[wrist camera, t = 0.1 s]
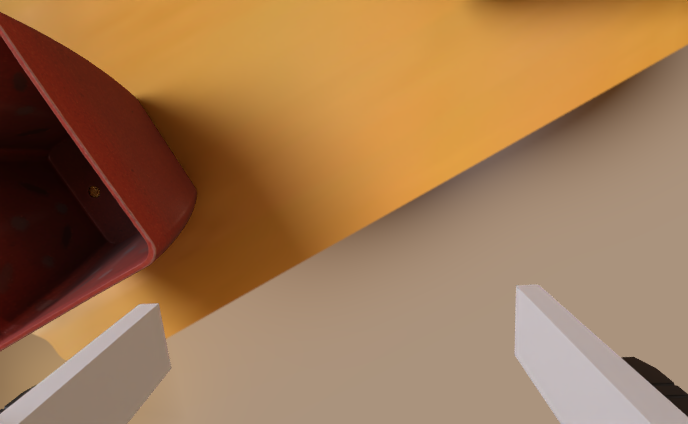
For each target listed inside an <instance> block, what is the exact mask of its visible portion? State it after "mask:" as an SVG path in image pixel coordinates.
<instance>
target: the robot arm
mask: <svg viewBox="0 0 688 424" xmlns="http://www.w3.org/2000/svg"><path fill="white" fill-rule="evenodd" d="M515 356H516V358H517V359H518V360H519V362H520V363H521V365H522V367H523V368H524V370H525V371H526V373H527V374H528V376H529V377H530V379H531V380H532V382H533V383H534V385H535V386H536V388H537V389H538V391H539V392H540V393H541V395H542V397H543V398H544V400H545V401H546V402H547V404H548V405H549V407H550V408H551V410H552V411H553V413H554V414H555V416H556V417H557V419H558V420H559V422H560V423H561V424H688V394H687V393H686V392H684V391H683V390H682V389H681V388H679V387H678V386H675V385H674V383H673V382H672V381H671V380H670V379H669V378H667V377H666V376H665V375H664V374H662V373H661V372H660V371H659V370H658V369H656V368H654V367H652V366H650V365H649V364H647V363H645V362H643V361H641V360H639V359H637V358H635V357H623V358H621V357H620V356H619V355H617V354H616V353H615V352H614V351H613V350H612V349H611V348H610V347H608V346H607V345H606V344H605V343H604V342H603V341H602V340H600V339H599V338H598V337H597V336H596V335H595V334H594V333H593V332H592V331H590V330H589V329H588V328H587V327H586V326H585V325H584V324H583V323H581V322H580V321H579V320H578V319H577V318H576V317H575V316H574V315H572V314H571V313H570V312H569V311H568V310H567V309H566V308H564V307H563V306H562V305H561V304H560V303H559V302H558V301H557V300H555V299H554V298H553V297H552V296H551V295H550V294H549V293H548V292H547V291H545V290H544V289H543V288H542V287H541V286H540V285H539V284H534V285H517V286H516V317H515ZM170 369H171V364H170V359H169V354H168V349H167V344H166V338H165V333H164V328H163V323H162V318H161V313H160V307H159V303H155V304H139V305H138V306H136V307H135V308H134V309H133V310H131V311H130V312H129V313H127V314H126V315H125V316H124V317H122V318H121V319H120V320H119V321H117V322H116V323H115V324H114V325H112V326H111V327H110V328H108V329H107V330H106V331H105V332H103V333H102V334H101V335H100V336H98V337H97V338H96V339H94V340H93V341H92V342H91V343H89V344H88V345H87V346H86V347H84V348H83V349H82V350H81V351H79V352H78V353H77V354H75V355H74V356H73V357H72V358H70V359H69V360H68V361H67V362H66V363H64V364H63V365H62V366H60V367H59V368H58V369H56V370H55V371H54V372H53V373H51V374H50V375H49V376H48V377H46V378H45V379H44V380H42V381H41V382H40V383H39V384H37V385H35V386H34V387H32V388H30V389H28V390H26V391H24V392H23V393H21V394H20V395H19V396H18V397H16V398H15V399H14V400H12V401H11V402H10V403H9V404H7V405H6V406H5V408H4V409H1V410H0V424H127V423H128V422H129V421H130V420H131V418H132V417H133V416H134V414H135V413H136V412H137V411H138V410H139V408H140V407H141V406H142V405H143V403H144V402H145V401H146V400H147V398H148V397H149V395H150V394H151V393H152V392H153V391H154V389H155V388H156V387H157V386H158V384H159V383H160V382H161V381H162V379H163V378H164V377H165V376H166V374H167V373H168V372H169V371H170Z"/></svg>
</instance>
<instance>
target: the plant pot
mask: <svg viewBox="0 0 688 424" xmlns="http://www.w3.org/2000/svg"><path fill="white" fill-rule="evenodd" d="M91 186H96V187H97V188H98V189H99V190H100V195H99V196H98V197H97V198H93V197H91V196H90V195H89V192H88V189H89V187H91ZM196 198H197V191H196V188H195V187H194V185H193V184H192V182H191V181H190V179H189V178H188V176H187V174H186V173H185V171H184V170H183V168H182V167H181V165H180V164H179V162H178V161H177V159H176V158H175V156H174V155H173V153H172V151H171V150H170V148H169V147H168V145H167V144H166V142H165V141H164V139H163V138H162V136H161V135H160V133H159V132H158V130H157V128H156V127H155V125H154V124H153V122H152V121H151V119H150V118H149V116H148V115H147V113H146V112H145V110H144V109H143V107H142V105H141V104H140V102H139V101H138V100H137V99H136V98H135V97H134V96H133V95H132V94H131V93H130V92H129V91H128V90H127V89H125V88H124V87H123V86H122V85H120V84H119V83H118V82H117V81H115V80H114V79H113V78H112V77H110V76H109V75H108V74H106V73H105V72H103V71H102V70H101V69H99V68H98V67H96V66H95V65H93V64H92V63H91V62H89V61H88V60H86V59H85V58H83V57H81V56H80V55H78V54H77V53H75V52H73V51H72V50H70V49H69V48H67V47H65V46H63V45H62V44H60V43H58V42H56V41H55V40H53V39H51V38H49V37H48V36H46V35H44V34H42V33H40V32H38V31H37V30H35V29H33V28H31V27H29V26H27V25H25V24H23V23H21V22H19V21H17V20H15V19H13V18H11V17H9V16H7V15H5V14H3V13H1V12H0V351H2V350H4V349H5V348H7V347H9V346H10V345H12V344H14V343H15V342H17V341H19V340H20V339H22V338H24V337H26V336H27V335H29V334H31V333H32V332H34V331H36V330H38V329H39V328H41V327H43V326H44V325H46V324H48V323H49V322H51V321H53V320H54V319H56V318H58V317H60V316H61V315H63V314H65V313H66V312H68V311H70V310H71V309H73V308H75V307H77V306H78V305H80V304H82V303H84V302H85V301H87V300H89V299H90V298H92V297H94V296H96V295H97V294H99V293H101V292H103V291H105V290H106V289H108V288H110V287H112V286H113V285H115V284H117V283H119V282H121V281H122V280H124V279H126V278H128V277H130V276H131V275H133V274H135V273H137V272H138V271H140V270H142V269H144V268H145V267H147V266H149V265H150V264H152V263H153V262H154V261H155V260H156V259H157V258H158V257H159V256H160V255H161V254H162V253H163V252H164V251H165V250H166V249H167V248H168V247H169V246H170V245H171V244H172V243H173V241H174V240H175V239H176V238H177V236H178V235H179V234H180V233H181V231H182V230H183V228H184V227H185V225H186V224H187V222H188V220H189V218H190V216H191V214H192V212H193V209H194V206H195V202H196Z"/></svg>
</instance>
